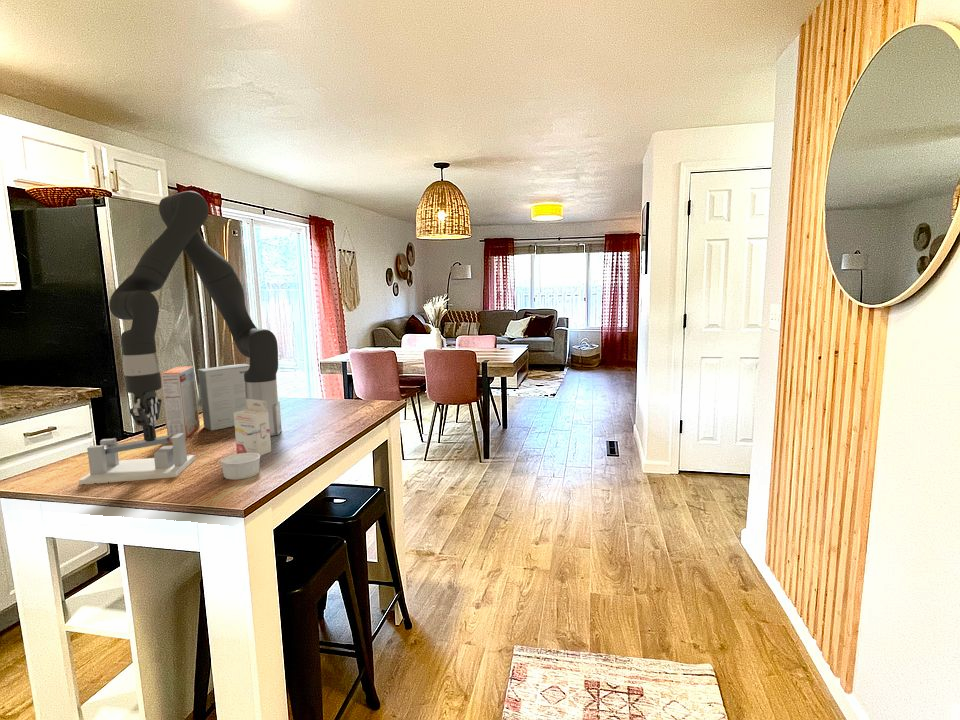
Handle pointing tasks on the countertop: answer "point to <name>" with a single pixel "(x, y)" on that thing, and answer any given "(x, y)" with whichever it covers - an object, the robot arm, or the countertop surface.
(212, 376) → the hard drive box
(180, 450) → the base
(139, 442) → the clamp lever
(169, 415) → the cracker box
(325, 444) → the countertop surface
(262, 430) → the ink cartridge box
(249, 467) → the ramekin
